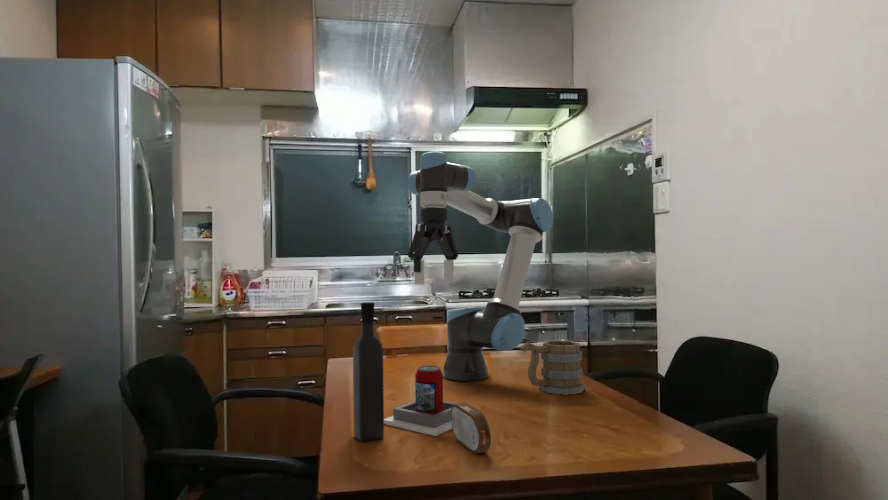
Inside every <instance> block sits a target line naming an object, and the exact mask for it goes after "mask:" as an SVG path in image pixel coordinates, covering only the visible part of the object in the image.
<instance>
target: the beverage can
mask: <svg viewBox="0 0 888 500" xmlns="http://www.w3.org/2000/svg"><path fill="white" fill-rule="evenodd" d="M414 378H415V379H414V380H415V381H414V386H415V389H414V391H415V392H414V393H415V401H416V412H421V413H426V414H431V415H434V414H437V413H439V412H442V411H443V401H444V379H443V378H444V377H443V371H441V367H440V366H438V365H421V366H418V368H417V371H416V373H415V377H414Z"/></svg>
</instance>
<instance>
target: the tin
mask: <svg viewBox="0 0 888 500" xmlns="http://www.w3.org/2000/svg"><path fill="white" fill-rule="evenodd" d="M451 419H452V429H451V430H452V432H453V435H454V437H455V439H456V440H457V442H459V443H460V444H462V446H464V447H465V448H466V449H468V451H470V452H471V453H472V454H474V455H477V454H482V453H488V452H489V450H490V449H491V444H492V438H491V437H492V435H491V430H490V426H489V423H488V420H487V418H486V416H485V415H484V413H483V412H482V411H481V410H479V409H478V408H476V407H474V406H473V405H471V404H469V403H468V402H467V401H463V402H460V403H458V404H455V405H453V406H452V409H451Z"/></svg>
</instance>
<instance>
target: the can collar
mask: <svg viewBox="0 0 888 500" xmlns="http://www.w3.org/2000/svg"><path fill="white" fill-rule="evenodd" d="M455 404H459V403H457V402H452V401H445V400H443V411H442V412H439V413H437V414H434V415H431V414H426V413H421V412H416V400H413V401H411V402H408V403H406V404H402V405H399V406H397V407H394V408H393V410H392V411H393V412H392V413H393V415H391V416H389V417H385V418H384V425H388V426H391V427H396V428H399V429H403V430H408V431H413V432H417V433H421V434H425V435H430V436H433V437H437V436H439V435H442V434H444V433H446V432H449V431H450V430H453V429H452V419H451V409H452V406H453V405H455Z"/></svg>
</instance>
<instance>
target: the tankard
mask: <svg viewBox="0 0 888 500" xmlns="http://www.w3.org/2000/svg"><path fill="white" fill-rule="evenodd" d="M520 349H521V351H522V352H524V353H525V352H526V351H528V350H529V351H531V353H530V354H531V356H530V362H529V366H528V369H527V375H528V380H529V381H530V384H531V385H532V386H534V387H538V389H539V390H541V391H542V390H543V391H542V392H544V391H545V392H544V393H546V392H547V393H546V394H549V393H553V394H552V395H559V394H565V395H564V396H568V395H567V394H572V395H577V394H576V393H581V392H582V391H583V390H584V389H585V390H586V384H585V383H583V382H581V377H582V376H583V367H581V361H582V359H583V351H582V350H580V349H581V344H580V342H577V341H573V340H547V341H545V342H543V343H542V346H538V345H535V344H533V343H531V342H530V341H527V342H525V343H524V344H522V345H521V346H520ZM539 359H541V360H542V361H543V362H542V365H543V366H541V369H540V375H541V376H542V377H543V378H537V372H536V371H537V368H538V365H539V362H540V360H539ZM585 390H584V391H585ZM584 391H583V392H584ZM583 392H582V393H583ZM582 393H581V394H582Z"/></svg>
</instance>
